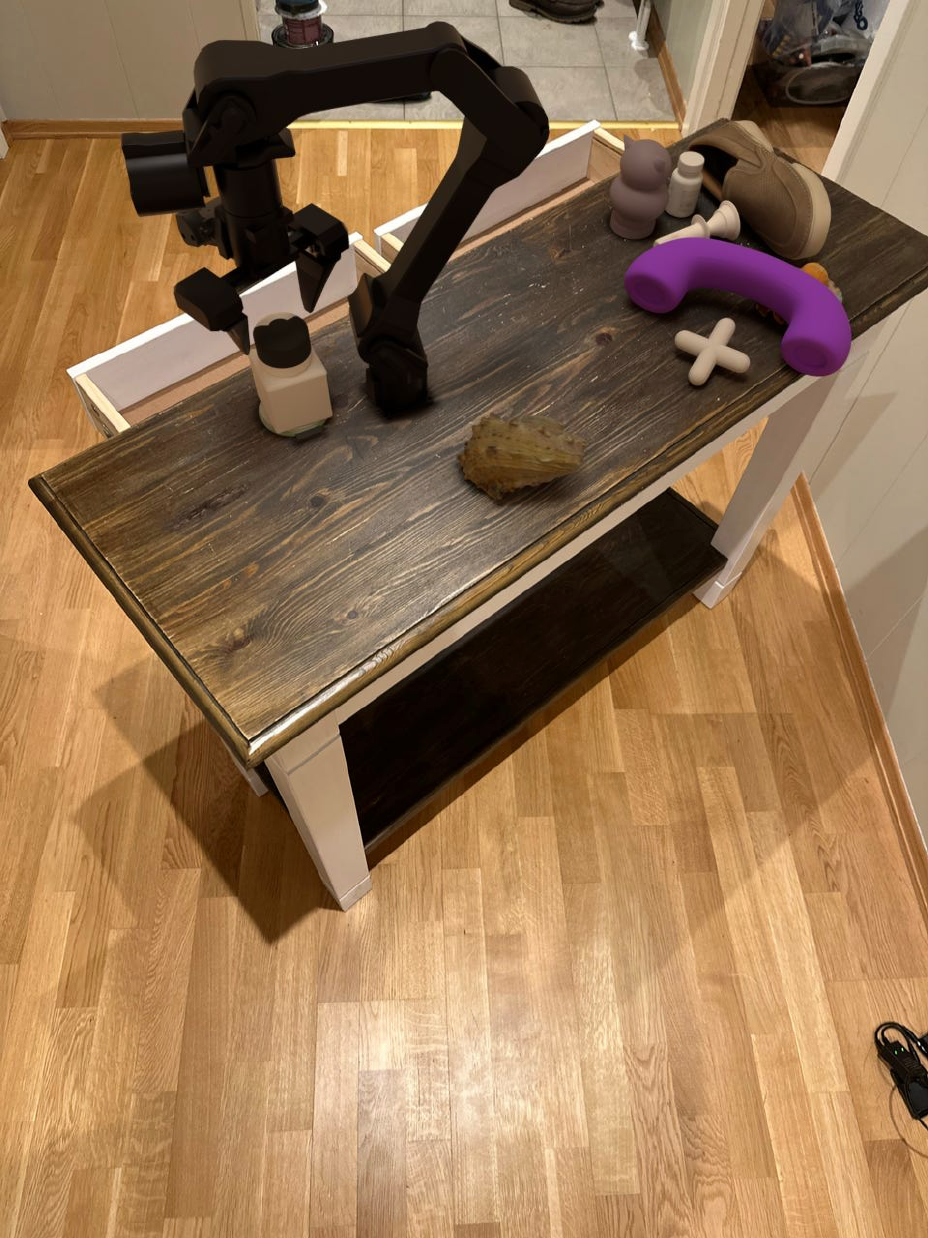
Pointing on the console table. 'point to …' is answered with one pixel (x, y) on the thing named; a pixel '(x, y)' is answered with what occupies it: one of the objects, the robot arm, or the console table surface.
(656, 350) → the console table surface
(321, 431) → the scale
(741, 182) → the slip on shoe
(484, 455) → the seashell
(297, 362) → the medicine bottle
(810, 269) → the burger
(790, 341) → the purple telephone handset
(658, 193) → the cat figurine
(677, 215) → the pill bottle
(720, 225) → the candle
